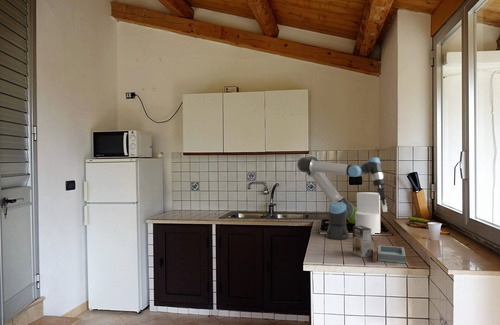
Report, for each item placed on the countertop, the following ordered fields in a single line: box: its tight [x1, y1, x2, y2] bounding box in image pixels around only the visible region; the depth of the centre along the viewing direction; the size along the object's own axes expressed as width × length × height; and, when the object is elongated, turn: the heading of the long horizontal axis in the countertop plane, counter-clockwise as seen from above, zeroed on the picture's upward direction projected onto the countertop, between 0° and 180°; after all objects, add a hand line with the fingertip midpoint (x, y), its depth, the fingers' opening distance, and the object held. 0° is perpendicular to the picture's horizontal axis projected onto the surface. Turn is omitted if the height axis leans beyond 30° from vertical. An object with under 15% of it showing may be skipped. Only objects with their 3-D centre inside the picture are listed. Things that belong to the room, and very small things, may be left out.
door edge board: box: [372, 239, 379, 263], centre depth 201 cm, size 2×24×6 cm, turn 159°
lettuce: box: [346, 206, 357, 225], centre depth 283 cm, size 15×24×14 cm, turn 82°
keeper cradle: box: [377, 244, 407, 264], centre depth 198 cm, size 14×17×4 cm
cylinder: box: [355, 191, 381, 235], centre depth 257 cm, size 17×17×28 cm
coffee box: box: [352, 225, 372, 258], centre depth 203 cm, size 9×6×16 cm
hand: (385, 210), depth 232 cm, fingers open, 13 cm apart
